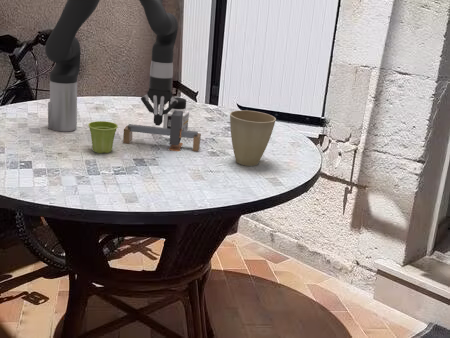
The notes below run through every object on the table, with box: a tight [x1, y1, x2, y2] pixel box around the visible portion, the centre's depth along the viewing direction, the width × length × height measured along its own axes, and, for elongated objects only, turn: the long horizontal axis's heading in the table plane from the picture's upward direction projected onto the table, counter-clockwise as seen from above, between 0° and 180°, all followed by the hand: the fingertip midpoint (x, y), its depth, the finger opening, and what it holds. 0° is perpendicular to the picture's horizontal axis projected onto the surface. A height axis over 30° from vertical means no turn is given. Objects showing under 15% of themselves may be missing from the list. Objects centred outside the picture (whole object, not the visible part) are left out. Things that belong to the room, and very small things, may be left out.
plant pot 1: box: [87, 120, 119, 154], centre depth 181 cm, size 9×9×9 cm
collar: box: [169, 110, 183, 145], centre depth 192 cm, size 3×7×10 cm, turn 177°
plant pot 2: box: [229, 109, 277, 167], centre depth 183 cm, size 15×15×16 cm
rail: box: [122, 123, 202, 152], centre depth 193 cm, size 26×9×6 cm, turn 87°
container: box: [162, 96, 190, 131], centre depth 210 cm, size 8×8×13 cm
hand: (157, 124), depth 192 cm, fingers closed
